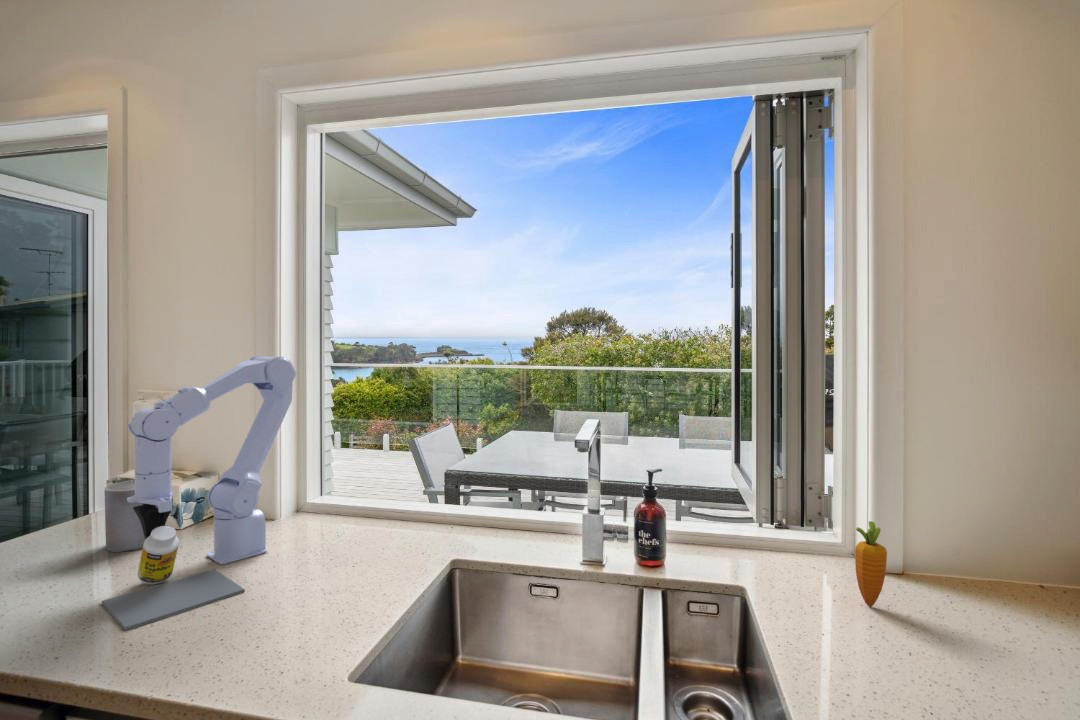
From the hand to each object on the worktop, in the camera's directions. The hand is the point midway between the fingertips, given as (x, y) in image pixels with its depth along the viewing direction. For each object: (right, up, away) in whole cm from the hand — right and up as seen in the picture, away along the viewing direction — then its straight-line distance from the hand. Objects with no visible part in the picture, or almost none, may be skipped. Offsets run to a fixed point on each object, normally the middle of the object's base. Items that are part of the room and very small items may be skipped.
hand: (153, 541), depth 105 cm
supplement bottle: (0, -7, 0) cm, 6 cm away
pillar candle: (-18, -7, +19) cm, 27 cm away
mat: (+9, -8, -7) cm, 13 cm away
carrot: (+133, -9, -7) cm, 134 cm away
